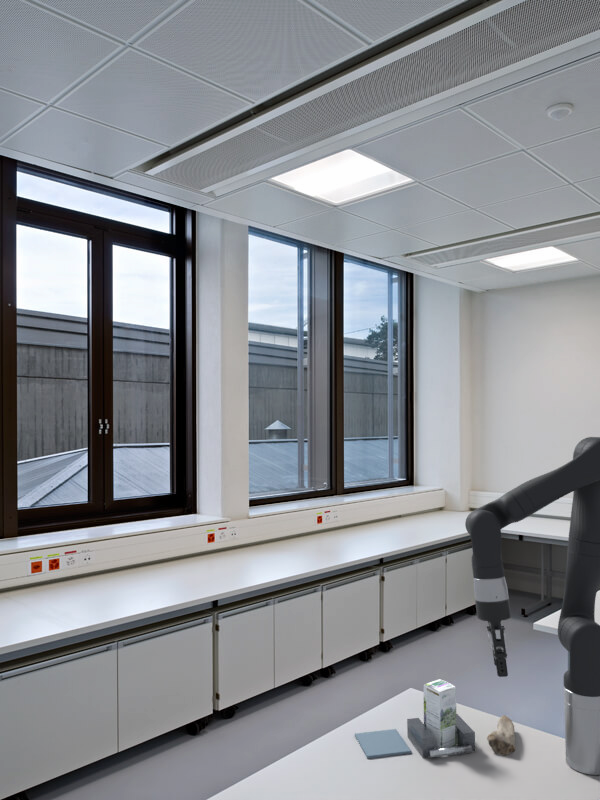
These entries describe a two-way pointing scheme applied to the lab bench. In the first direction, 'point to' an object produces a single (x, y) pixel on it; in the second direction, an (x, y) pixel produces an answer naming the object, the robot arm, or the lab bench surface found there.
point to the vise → (426, 740)
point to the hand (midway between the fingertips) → (501, 670)
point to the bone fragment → (503, 737)
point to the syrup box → (440, 713)
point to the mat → (382, 743)
